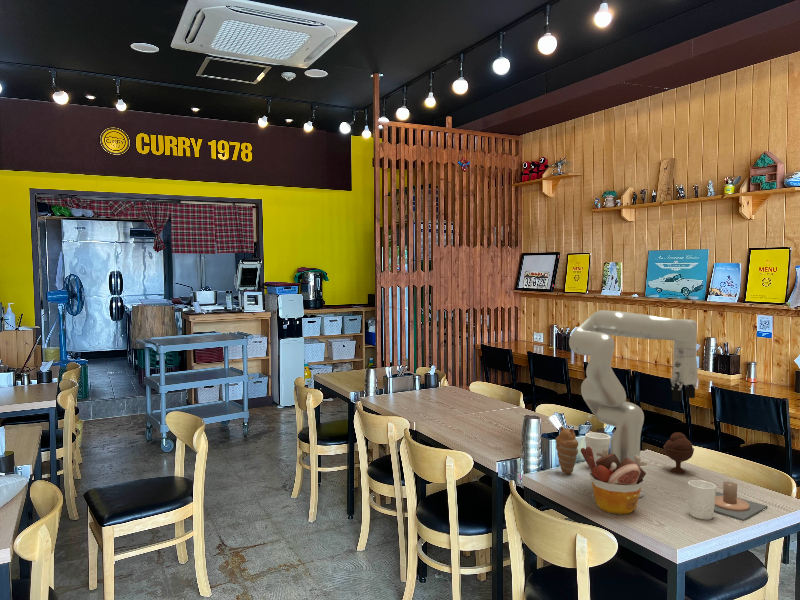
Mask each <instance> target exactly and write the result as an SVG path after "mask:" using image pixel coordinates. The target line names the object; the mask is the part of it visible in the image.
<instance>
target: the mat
mask: <svg viewBox="0 0 800 600" xmlns="http://www.w3.org/2000/svg"><path fill="white" fill-rule="evenodd" d="M716 496H723V492H719V491H716ZM737 498H739V499H742V500H744V501H746V502H747V503H749V510H747V511H730V510H725V509H722V508H719V507H716V506H715V508H714V513H715V514H719V515H722V516H725V515H726V517H728V516H729V518H733V519H735V518H736V520H738V519H739V520H738V521H741V520H742V522H745V521H747V520H748V519H750V518H752V517H754V516H755V514H756V513H757V514H759V513H761V512H763V511H764V510H763V509H765V508H766V509H768V508H769V505H767V504H766V505H765V504H763V503H758V502H755V501H752V500H748V499H745V498H741V497H738V496H737ZM767 507H768V508H767ZM766 509H765V510H766ZM762 510H763V511H762ZM760 511H761V512H760ZM758 512H759V513H758ZM757 514H756V515H757ZM753 515H754V516H753ZM751 516H752V517H751ZM749 517H750V518H749ZM746 519H747V520H746ZM744 520H745V521H744Z"/></svg>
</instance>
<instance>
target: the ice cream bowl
mask: <svg viewBox="0 0 800 600" xmlns="http://www.w3.org/2000/svg"><path fill="white" fill-rule="evenodd" d="M662 448H663V451H664V454H665V455H666V456H667V457H668V458H669V459H670V460H673V461H674V462H675V466H674V467H672V468H671V469H670V472H671V473H672V474H676V475H686V470H685V469H683V468H682V465H681V464H682V463H683V462H686V461H688V460H690V459H691V458H692V457H693V455H694V451H695V448H694V447H693V444H692V441H691V440H689V439H688V438H687V436H686V435H685V434H684V433H682V432H678V431H677V432H673V433H672V434H671V435H670V437H669V439H668V440H666V441H665V444H663V446H662Z"/></svg>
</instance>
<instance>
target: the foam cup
mask: <svg viewBox="0 0 800 600" xmlns="http://www.w3.org/2000/svg"><path fill="white" fill-rule="evenodd" d="M584 436H585V438H584V441H585V446H586V448H587V447H590V448H591V449H592V452H593V456H594V461H595V462H596V461H597V460H598V459H600V458H601V456H598V455H596V453H597V452H598V451H601V452H602V453H603V449H605V448H607V449H608V450H609V449H610V446H611V439H612V436H611V435H609V434H607V433H602V432H587V433H585V435H584ZM586 448H585V449H586ZM609 451H610V450H609ZM608 454H609V452H608V453H607V455H608ZM595 464H596V463H595ZM596 466H597V465H596Z"/></svg>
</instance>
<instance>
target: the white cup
mask: <svg viewBox="0 0 800 600" xmlns="http://www.w3.org/2000/svg"><path fill="white" fill-rule="evenodd" d="M687 489H688V492H687V493H688V496H687V499H688V506H689V507H688V508H689V509H688V510H689V515H690V516H691V517H693V518H696V519H700V520H706V521H707V520H712V519H713V518H714V516H715V515H714V513H715V512H714V508H715V497H716V492H717V485H716V484H715V483H713V482H710V481H706V480H700V479H692V480H689V481H688V482H687Z"/></svg>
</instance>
